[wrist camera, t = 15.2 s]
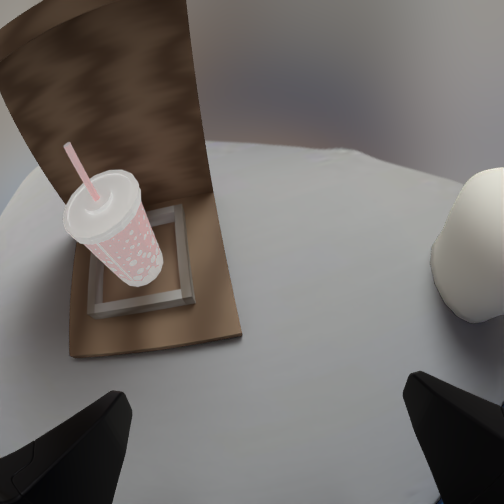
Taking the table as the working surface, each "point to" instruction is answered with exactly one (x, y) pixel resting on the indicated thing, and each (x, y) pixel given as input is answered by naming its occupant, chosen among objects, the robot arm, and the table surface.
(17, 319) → the table surface
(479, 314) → the vase
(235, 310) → the wooden headphone stand
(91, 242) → the beverage cup
